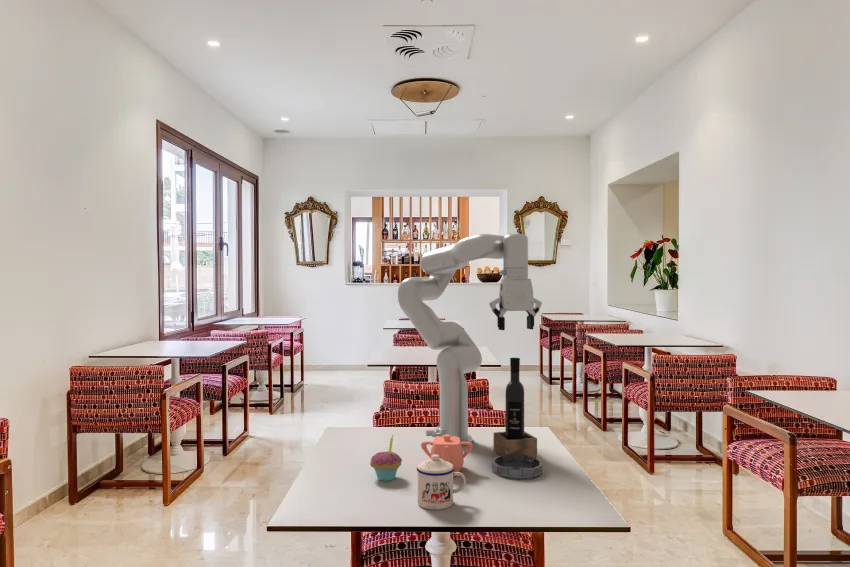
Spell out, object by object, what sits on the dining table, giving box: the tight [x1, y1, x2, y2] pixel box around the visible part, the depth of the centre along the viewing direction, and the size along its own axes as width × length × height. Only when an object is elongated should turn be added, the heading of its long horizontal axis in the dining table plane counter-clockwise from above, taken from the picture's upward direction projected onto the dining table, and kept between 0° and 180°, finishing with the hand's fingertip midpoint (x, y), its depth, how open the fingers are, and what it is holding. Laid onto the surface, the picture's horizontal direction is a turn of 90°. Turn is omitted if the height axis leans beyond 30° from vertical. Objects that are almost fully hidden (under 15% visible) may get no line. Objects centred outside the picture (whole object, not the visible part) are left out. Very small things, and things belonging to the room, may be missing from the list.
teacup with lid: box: [416, 454, 467, 511], centre depth 139 cm, size 12×9×12 cm
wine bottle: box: [504, 357, 525, 440], centre depth 178 cm, size 6×6×30 cm
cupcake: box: [369, 434, 403, 482], centre depth 157 cm, size 9×8×12 cm
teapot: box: [420, 434, 474, 472], centre depth 163 cm, size 14×12×10 cm
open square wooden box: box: [493, 430, 538, 458], centre depth 178 cm, size 10×10×6 cm
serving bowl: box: [491, 454, 543, 480], centre depth 163 cm, size 14×14×3 cm
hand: (515, 329), depth 177 cm, fingers open, 9 cm apart
